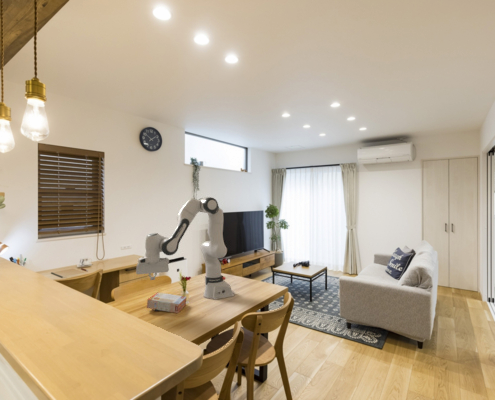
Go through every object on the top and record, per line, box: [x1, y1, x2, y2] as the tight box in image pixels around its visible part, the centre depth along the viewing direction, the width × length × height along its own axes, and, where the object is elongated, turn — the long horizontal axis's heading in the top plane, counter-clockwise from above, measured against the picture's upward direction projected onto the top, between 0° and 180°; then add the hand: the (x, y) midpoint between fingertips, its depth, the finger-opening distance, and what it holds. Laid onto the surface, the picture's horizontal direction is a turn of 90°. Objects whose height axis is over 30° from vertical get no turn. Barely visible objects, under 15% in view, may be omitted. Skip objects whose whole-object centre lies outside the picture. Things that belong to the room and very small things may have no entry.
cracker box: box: [146, 292, 187, 314], centre depth 180 cm, size 14×6×21 cm
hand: (152, 279), depth 183 cm, fingers closed
